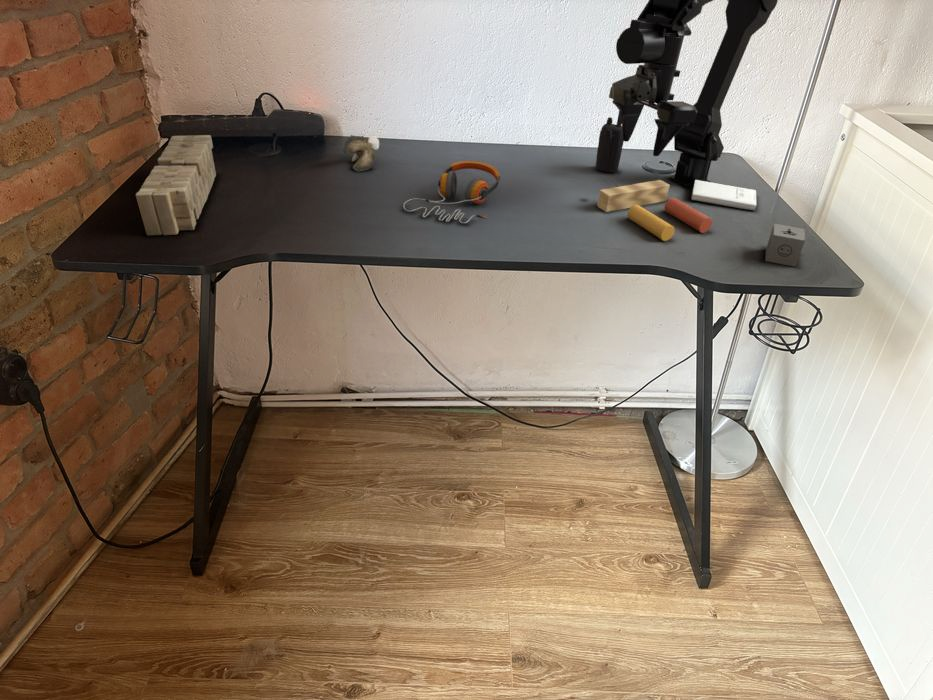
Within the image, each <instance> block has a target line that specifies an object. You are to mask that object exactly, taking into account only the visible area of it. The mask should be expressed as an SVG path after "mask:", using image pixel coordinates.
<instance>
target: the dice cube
mask: <svg viewBox="0 0 933 700" xmlns="http://www.w3.org/2000/svg"><path fill="white" fill-rule="evenodd" d="M805 242H806V233H805V228H802V227H795V226H790V225H785V224H780V223H779V224H778V223H773V226H772V229H771V232H770V235H769V237H768V241H767V244H766V247H765V260H764V261H765V262H769V263H775V264H779V265H785V266H788V267H789V266H790V267H797V264H798V261H799V259H800V255H801V252H802V250H803V248H804V244H805Z"/></svg>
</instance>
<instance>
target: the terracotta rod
mask: <svg viewBox="0 0 933 700" xmlns="http://www.w3.org/2000/svg"><path fill="white" fill-rule="evenodd" d="M664 211H665V212H666V213H668V214H669V215H671V216H672V217H675V218H676V219H677V220H679V221H681V222H682V223H684V224H686V225H688V226H689V227H691V228H692V229H694V230H696V231H698V232H699V233H701V234H704V233H705V234H706V233H707V232H708V231H709V230H710V229H711V228H712V225H713V220H712V218H711V217H709V216H707V215H705V214H704V213H702V212H701V211H699V210H697V209H695V208H694V207H692V206H690V205H688V204H687V203H684V202H682V201H681V200H679V199H677V198H676V197H671V198H669V199H667V200H666V201H665V204H664Z"/></svg>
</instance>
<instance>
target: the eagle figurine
mask: <svg viewBox="0 0 933 700" xmlns="http://www.w3.org/2000/svg"><path fill="white" fill-rule="evenodd" d="M379 147H380V140H379V138H378V137H376V136H374V135H370V136H369V137H368V139H367V140H366V139H365V137H364V135H352V134H350V136H349V137H348V138H347V139H345V141H344V142H343V144H342V148H341V151H342V153H343V155H346V154H347V155H348V154H354V155H353V156H352V159H351V163H353V162H355V161H356V162H355V163H354V164H353V165H352V169H353V170H354V171H356V172H361V171H362V172H364V171H368V170H370V169H372V168H373V166H374V163H375V160H376V158H377V156H376V153H375V151H378V150H379ZM373 150H375V151H373Z"/></svg>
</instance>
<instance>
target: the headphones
mask: <svg viewBox="0 0 933 700" xmlns="http://www.w3.org/2000/svg"><path fill="white" fill-rule="evenodd" d="M468 169H469V170H477V171H483V172H486V173H488V174H490V175H492V176H493V177H494V179H495V181H494V182H493V184H492V185H491V186H489V184H488V182H486V181H485V179H484V178H483V177H481V176H474V177H472V179H470V180H469V182H468V184H467V185H466V188H465V191H464V198H465V199H463V200H460V201H455V202H444V201H445V200H446V197H447V198H448V199H449V200H451V199H452V200H453V199H454V198H455V197H456V195H457V189H458V177H457V173H456V171H459V170H468ZM500 181H501V176H500V172H499V170H498V169H497V168H496V167H494V166H492V165H491V164H488V163H486V162H480V161H475V160H463V161H457V162H453V163H452V164H450V166H447V168H445V169H444V171H443V172H442V174H441V175H440V179H439V180H438V182H437V191H438V194H439V195H440V197H442V198H443V199H442V200H441V199H440V200H430V199H428V198H426V199H425V198H418V197H414V198H411V199H407V200H405V202H403V206H402V207H403V209H404V211H406V212H408V213H412V212H415V211H417V210H421V209H425V210H424V211H423V214H422V218H427V216H429V215H430V214H431V212H433V210H434V209H436V208H438V209H437V210H436V211H435V212H434V215H435V216H439V215H440V216H439V217H438V221H440V222H443V221H444V220H445V222H446V223H449V222H450V221H451V219H452V218H453V217H454V218H453V220H454V221H456V220H458V222H459V223H460V224H468V223H469V222H470V221H471V220H472V218H473V217H476V218H479V219H484V220H485V219H487V218H488V217H487V216H483V215H480V214H473V215H471V216H470V217H469V219H468V220H467V221H461V220H462V218H463V217H464V215H465V212H461V211H462V209H460V208H457V209H455V210H454V211H453V213H452V214H450V213H447V214H446V215H445V213H446V209H441V206H440V205H456V204H461V203H463V202H467V203H468V204H471V205H475V204H478V205H481V204H482V203H483V202H484V201H485V200H486V199H487V197H488V195H490V194H492V192H493V191H495V189H496V188H497V187H498V186H499V183H500ZM415 200H419V201H424V202H426V203H433V204H439V205H434V206H433V207H432V208H431V209H430V210H429V211H428V208H427V207H426V206H419V207H416V208H415V209H411V210H408V209H407V208H406V207H405V205H406V204H407V203H408V202H410V201H415ZM440 209H441V211H440ZM427 211H428V212H427ZM457 211H458V212H457ZM456 212H457V213H456ZM454 214H455V215H454ZM444 215H445V216H444ZM441 218H442V219H441Z"/></svg>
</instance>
